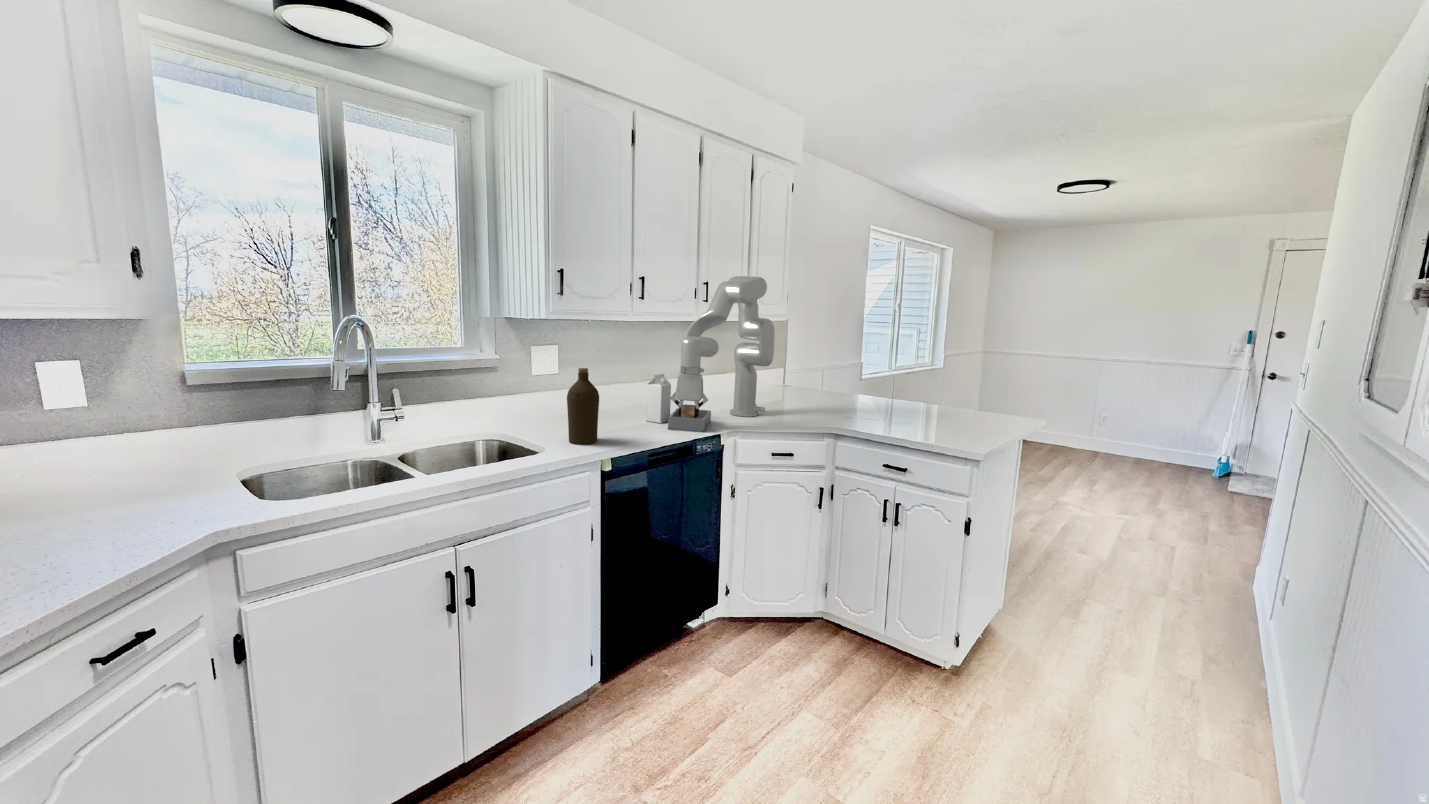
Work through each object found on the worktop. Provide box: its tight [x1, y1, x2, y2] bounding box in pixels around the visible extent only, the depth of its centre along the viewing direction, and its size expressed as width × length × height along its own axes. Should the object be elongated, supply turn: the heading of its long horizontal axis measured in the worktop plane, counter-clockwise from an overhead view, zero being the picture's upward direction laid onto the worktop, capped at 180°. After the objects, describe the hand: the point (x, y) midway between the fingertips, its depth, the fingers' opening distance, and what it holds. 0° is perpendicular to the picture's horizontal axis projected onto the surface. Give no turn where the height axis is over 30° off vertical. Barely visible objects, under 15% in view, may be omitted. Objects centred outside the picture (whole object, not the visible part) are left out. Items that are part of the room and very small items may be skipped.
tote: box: [667, 407, 712, 433], centre depth 227 cm, size 14×18×5 cm
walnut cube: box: [681, 404, 695, 418], centre depth 222 cm, size 5×5×5 cm
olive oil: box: [566, 367, 600, 446], centre depth 194 cm, size 11×11×25 cm
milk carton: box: [645, 373, 672, 424], centre depth 232 cm, size 7×7×19 cm
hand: (688, 417), depth 222 cm, fingers closed on walnut cube, 4 cm apart
